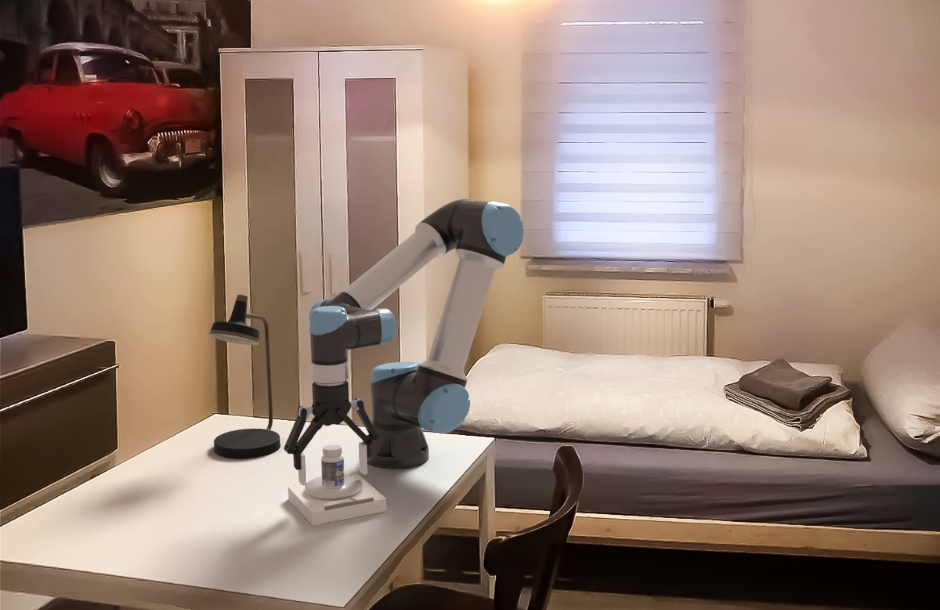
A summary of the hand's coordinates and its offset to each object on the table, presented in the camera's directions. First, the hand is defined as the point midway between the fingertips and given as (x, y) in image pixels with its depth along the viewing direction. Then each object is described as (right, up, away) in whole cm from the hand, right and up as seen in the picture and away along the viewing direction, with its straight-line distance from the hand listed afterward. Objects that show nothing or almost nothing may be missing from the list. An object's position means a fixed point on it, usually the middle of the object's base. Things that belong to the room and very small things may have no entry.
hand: (333, 478), depth 220 cm
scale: (+1, -6, 0) cm, 6 cm away
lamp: (-25, +2, +38) cm, 46 cm away
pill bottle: (0, -2, 0) cm, 2 cm away
